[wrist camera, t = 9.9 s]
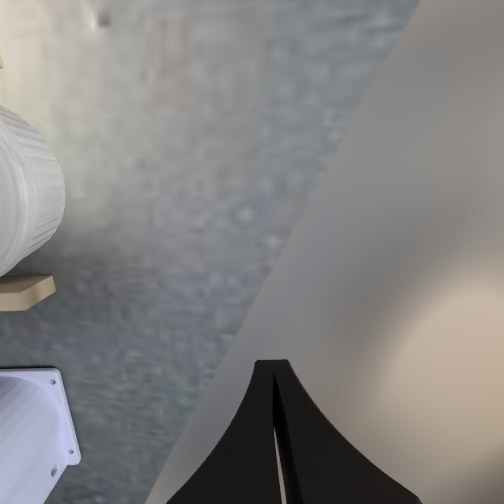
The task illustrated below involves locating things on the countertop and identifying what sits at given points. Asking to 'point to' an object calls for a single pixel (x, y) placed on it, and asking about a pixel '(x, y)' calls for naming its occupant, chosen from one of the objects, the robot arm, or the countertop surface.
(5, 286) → the birch dock
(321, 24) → the countertop surface
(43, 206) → the ramekin
